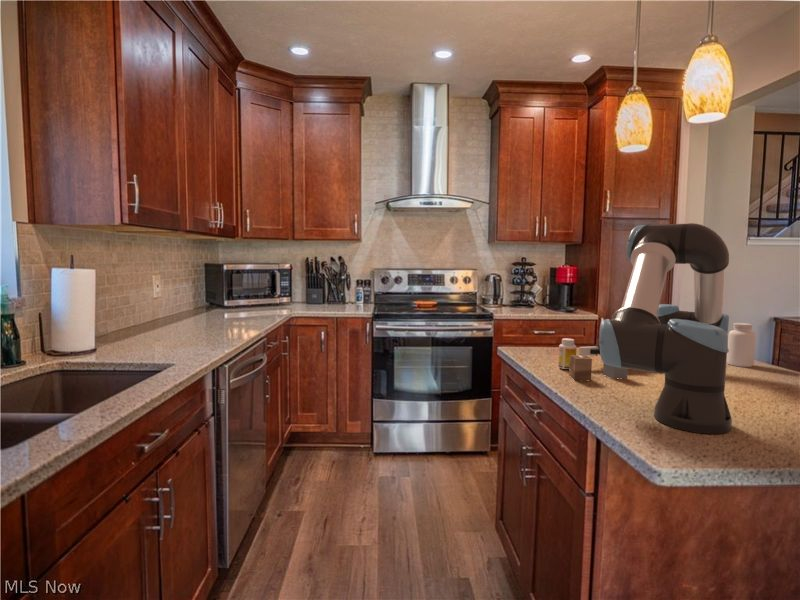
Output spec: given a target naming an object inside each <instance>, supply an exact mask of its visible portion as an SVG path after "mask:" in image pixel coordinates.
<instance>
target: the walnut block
mask: <svg viewBox="0 0 800 600" xmlns="http://www.w3.org/2000/svg"><path fill="white" fill-rule="evenodd" d="M592 364H593V358H591V357H589V355H579V354H578V355H577V354H576V355H570V370H568V372H569V373H568V374H569V375H568V376H571V377H572V378H573V379H574V380H591V381H592V368H593V367H592V366H593V365H592ZM573 379H572V380H573ZM574 380H573V381H574Z"/></svg>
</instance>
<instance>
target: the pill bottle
mask: <svg viewBox="0 0 800 600" xmlns="http://www.w3.org/2000/svg"><path fill="white" fill-rule="evenodd" d="M752 330H753V324H752V323H745V322H734V323H733V330H730V331H728V334H727V335H728V349H729V352H728V353H727V361H726V365H727V364H728V365H731V366H735V367H741V368H751V367H753V366H754V364H755V363H754V361H755V351H756V342H757V341H756V339H757V336H756V333H754V332H753V331H752Z"/></svg>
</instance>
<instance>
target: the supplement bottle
mask: <svg viewBox="0 0 800 600" xmlns="http://www.w3.org/2000/svg"><path fill="white" fill-rule="evenodd" d="M570 355H577V345H575V339H573V338H570V337H567V338H566V337H564V338H562V339H561V343H560V344H559V346H558V369H560V368H562V369H570ZM562 369H561V370H562Z"/></svg>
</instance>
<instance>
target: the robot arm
mask: <svg viewBox="0 0 800 600" xmlns="http://www.w3.org/2000/svg"><path fill="white" fill-rule="evenodd" d="M627 239H628V240H627V241H628V242H627V243H626V244H627V245H626V258H627V260H628V262H630V263H631V265H632V271H631V273H630V277H629V280H628V284H627V287H626V290H625V294H624V297H623V300H622V304H621V307H620V308H619V309H617V310H616V311H615V312H613V314H612V316H611V318H610V319H609V318H606V319H602V320H601V322H600V323H599V324H600V326H599V334H598V335H599V339H598V341H599V344H593V346H579V347H578V355H586V356H600V358H601V361H602V363H603V365H604V364H606V365H608V366H614V367H618V368H625V369H628V370H634V371H642V372H650V373H656V374H663V375H664V385H663V388H662V390H661V393H660V394H659V397H658V398H657V401H656V403H655V405H654V410H653V411H654V412H653V417H654V419H655V420H656V421H658V422H659V423H661V424H664V425H665V426H669V427H672V428H675V429H678V430H682V431H687V432H691V433H692V432H693V433H698V434H708V435H712V434H713V435H717V434H721V435H722V434H726V433H729V432H731V430H732V425H733V424H732V423H733V421H732V420H733V419H732V416H731V412H730V409H729V404H728V403H727V402H728V401H727V399H726V396H725V389H726V388H725V386H726V373H727V363H726V361H727V353H728V352H729V349H728V335H729V324H730V323H729V321H730V316H729V315H728V314H726V313H723V303H724V301H723V300H724V280H725V270H726V269H727V268H728V266H729V263H730V252H729V249H728V246H727V245H726V242H725V241H724V240H723V239H722V237H721V236H720V235H719V234H718V233H717V232H716V231H715V230H713V229H711V228H710V227H708V226H705V225H703V224H699V223H695V222H693V223H692V222H691V223H671V224H670V223H663V224H662V223H661V224H660V223H657V224H656V223H655V224H651V223H648V224H642V225H636V226H635V227H633V228H632V230H631V231H630V234H629V236H628V238H627ZM678 264H679V265H687V264H688V265H689V266H690V268H691V269H692V270H693V286H694V287H693V290H694V291H693V292H694V293H693V294H694V295H693V296H694V297H693V298H694V311H687V310H680V309H679V305H676V304H671V303H670V304H667V303H664V304H663V303H661V299H662V296H663V295H662V293H663V290H664V287H665V286H664V285H665V281H666V277H667V273H668V272H670V271H671V270H672V269H673V268H674V266H675V265H678Z"/></svg>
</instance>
